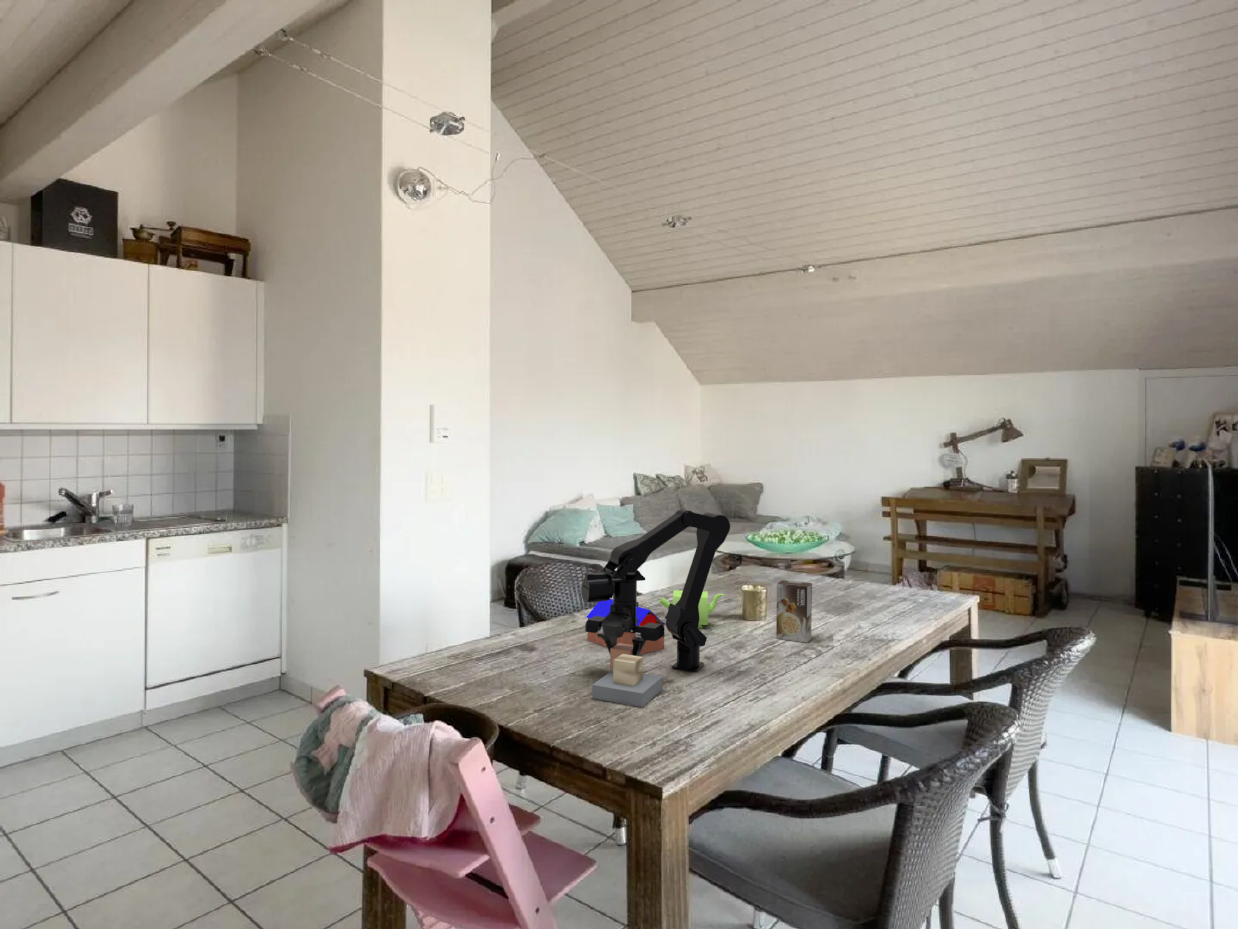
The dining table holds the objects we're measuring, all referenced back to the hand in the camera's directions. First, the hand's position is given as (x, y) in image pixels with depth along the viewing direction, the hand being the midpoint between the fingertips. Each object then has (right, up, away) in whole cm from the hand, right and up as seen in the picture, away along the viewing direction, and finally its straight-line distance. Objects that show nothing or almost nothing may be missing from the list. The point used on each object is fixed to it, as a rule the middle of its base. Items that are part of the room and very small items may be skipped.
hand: (624, 663), depth 175 cm
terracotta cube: (0, -1, 0) cm, 1 cm away
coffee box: (+49, -2, +33) cm, 59 cm away
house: (+1, -2, +26) cm, 26 cm away
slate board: (+1, -3, -13) cm, 13 cm away
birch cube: (+1, 0, -13) cm, 13 cm away
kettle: (+21, -1, +46) cm, 51 cm away
